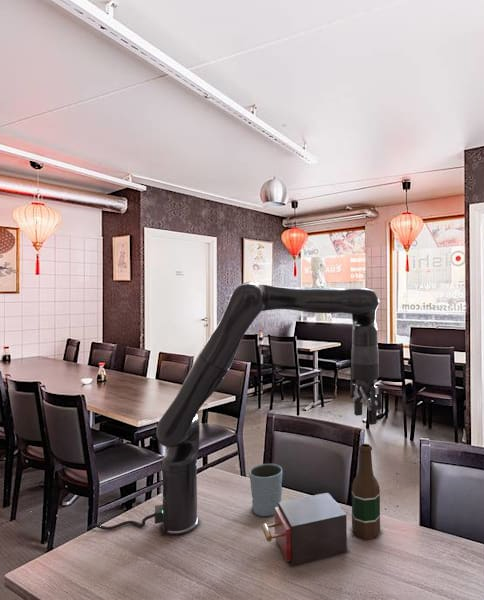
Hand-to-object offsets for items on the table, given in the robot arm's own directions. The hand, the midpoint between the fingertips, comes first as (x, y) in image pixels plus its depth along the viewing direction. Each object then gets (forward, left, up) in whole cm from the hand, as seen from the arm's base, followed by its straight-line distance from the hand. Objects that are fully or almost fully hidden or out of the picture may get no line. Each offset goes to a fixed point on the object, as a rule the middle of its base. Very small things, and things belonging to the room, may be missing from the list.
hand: (365, 419), depth 114 cm
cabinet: (-16, 0, -31) cm, 35 cm away
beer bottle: (0, 0, -31) cm, 31 cm away
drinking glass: (-23, +22, -31) cm, 45 cm away
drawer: (-20, 0, -30) cm, 36 cm away
